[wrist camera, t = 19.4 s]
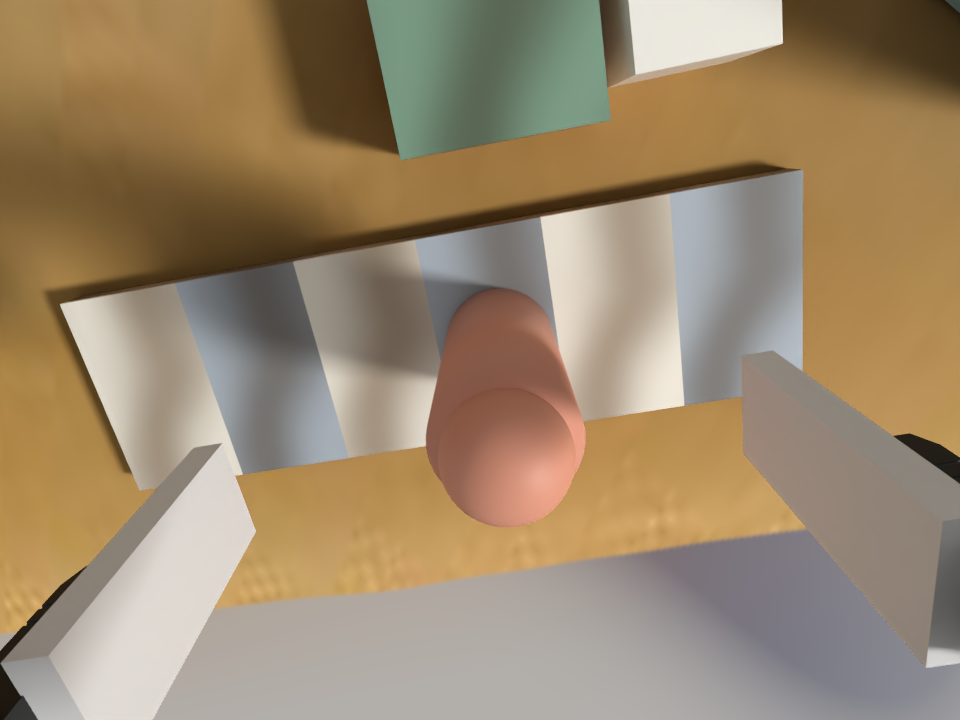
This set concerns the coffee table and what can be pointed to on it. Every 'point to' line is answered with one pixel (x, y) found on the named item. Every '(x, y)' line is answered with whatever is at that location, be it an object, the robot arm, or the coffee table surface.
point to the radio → (954, 4)
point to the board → (426, 317)
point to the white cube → (683, 35)
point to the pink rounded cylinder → (504, 412)
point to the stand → (488, 69)
